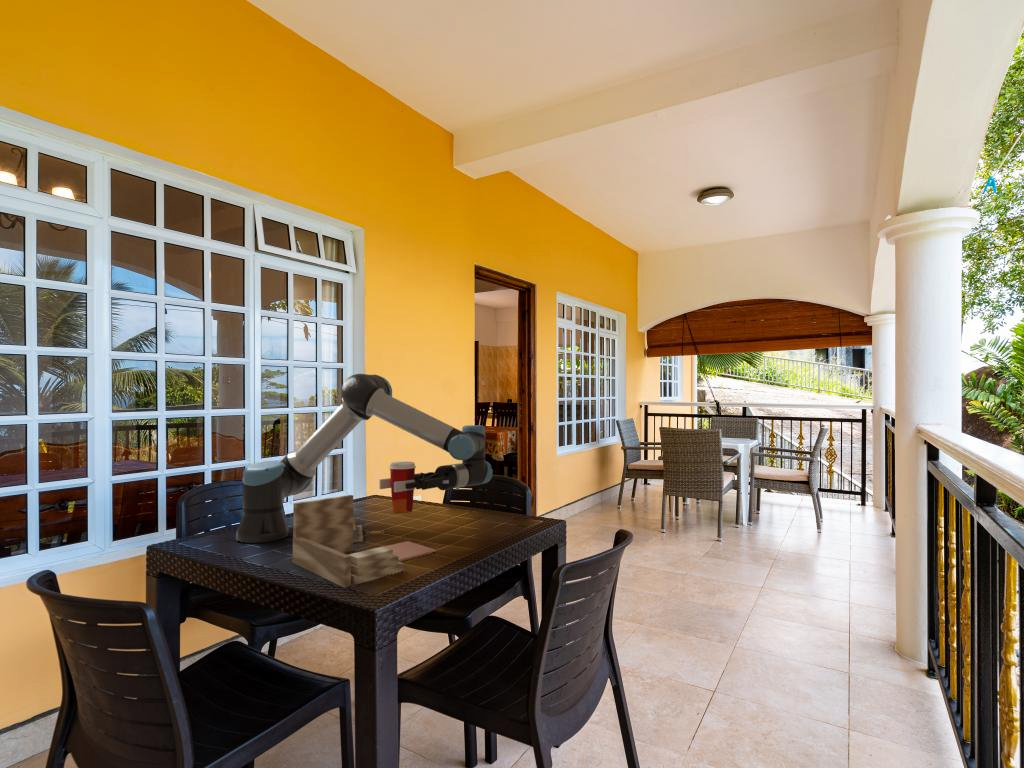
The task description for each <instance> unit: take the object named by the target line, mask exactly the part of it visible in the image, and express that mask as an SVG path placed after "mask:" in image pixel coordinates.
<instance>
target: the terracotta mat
mask: <svg viewBox="0 0 1024 768" xmlns="http://www.w3.org/2000/svg"><path fill="white" fill-rule="evenodd" d="M383 547H386V548H389V549H392V550H393V555H395V556H398V562H401V563H402V562H404V561H408V560H411V559H416V558H419V556H420V557H423V556H422V555H424V556H426V555H425V554H427V555H430V554H429V553H431V554H433V553H432V552H435V551H438V550H437V549H434V548H431V547H427V546H425V545H421V544H419V543H415V542H412V541H410V540H408V541H403V542H397V543H394V544H389V545H384V546H383ZM435 553H436V552H435Z"/></svg>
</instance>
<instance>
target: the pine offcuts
mask: <svg viewBox="0 0 1024 768" xmlns="http://www.w3.org/2000/svg"><path fill="white" fill-rule="evenodd" d="M347 555H349V556H351V585H353V586H357V585H359V584H364V583H366V582H370V581H374V580H378V579H381V578H384V576H385V577H388V576H387V575H389V576H392V575H396V574H399V573H402V572H401V571H403V572H405V568H404V567H405V566H404V565H405V563H403V562H402V561H401V562H398V556H395V555H393V550H392V549H389V548H386V547H384V546H379V547H374V548H371V549H366V550H363V551H361V550H360V551H358V552H353V553H350V554H347ZM398 572H399V573H398ZM395 573H396V574H395ZM391 574H392V575H391ZM363 582H364V583H363Z"/></svg>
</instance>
